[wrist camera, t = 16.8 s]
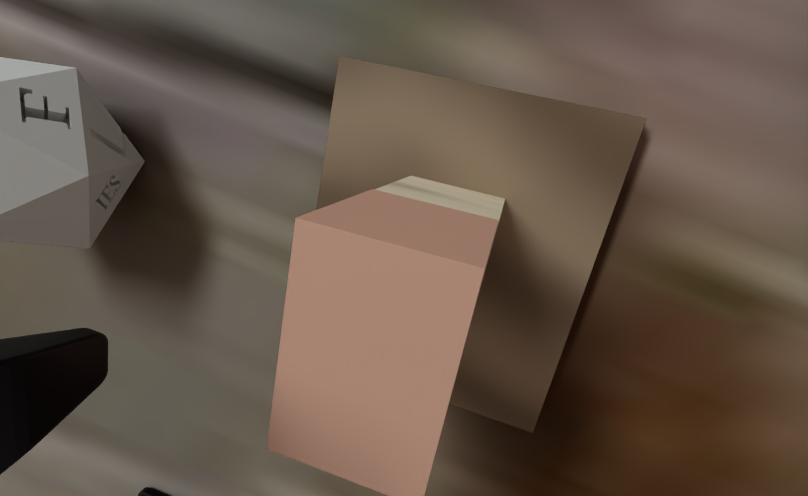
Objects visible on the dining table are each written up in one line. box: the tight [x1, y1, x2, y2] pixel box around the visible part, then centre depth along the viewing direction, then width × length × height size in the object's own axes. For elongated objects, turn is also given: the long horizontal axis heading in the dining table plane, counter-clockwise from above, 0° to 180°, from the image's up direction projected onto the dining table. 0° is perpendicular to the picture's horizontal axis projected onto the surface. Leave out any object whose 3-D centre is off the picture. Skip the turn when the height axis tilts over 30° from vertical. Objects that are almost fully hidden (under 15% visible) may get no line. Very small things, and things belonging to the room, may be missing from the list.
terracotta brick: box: [267, 189, 498, 496], centre depth 12 cm, size 6×4×5 cm, turn 169°
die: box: [0, 57, 145, 249], centre depth 20 cm, size 8×9×10 cm
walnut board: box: [316, 56, 647, 433], centre depth 19 cm, size 14×12×1 cm
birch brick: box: [375, 176, 505, 310], centre depth 17 cm, size 6×4×5 cm, turn 169°
